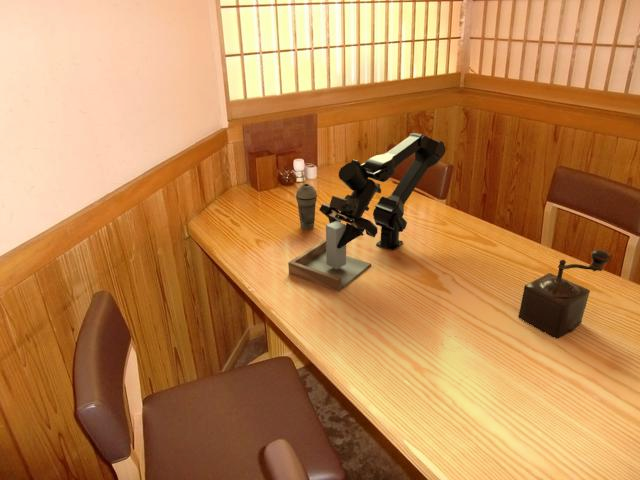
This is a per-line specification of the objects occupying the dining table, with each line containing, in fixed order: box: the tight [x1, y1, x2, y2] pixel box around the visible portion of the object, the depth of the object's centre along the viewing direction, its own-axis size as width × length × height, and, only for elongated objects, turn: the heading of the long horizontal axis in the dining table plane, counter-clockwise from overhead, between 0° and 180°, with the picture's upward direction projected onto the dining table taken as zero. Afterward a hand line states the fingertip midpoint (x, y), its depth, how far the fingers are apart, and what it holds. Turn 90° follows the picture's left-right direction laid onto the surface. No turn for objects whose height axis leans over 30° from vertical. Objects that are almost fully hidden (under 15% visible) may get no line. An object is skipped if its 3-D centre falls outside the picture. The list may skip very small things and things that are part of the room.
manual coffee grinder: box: [517, 249, 611, 339], centre depth 108 cm, size 16×11×18 cm
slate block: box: [325, 221, 347, 269], centre depth 131 cm, size 4×4×12 cm
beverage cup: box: [295, 171, 318, 231], centre depth 157 cm, size 7×7×20 cm
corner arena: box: [287, 239, 372, 293], centre depth 135 cm, size 17×17×4 cm
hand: (332, 245), depth 130 cm, fingers closed on slate block, 4 cm apart
